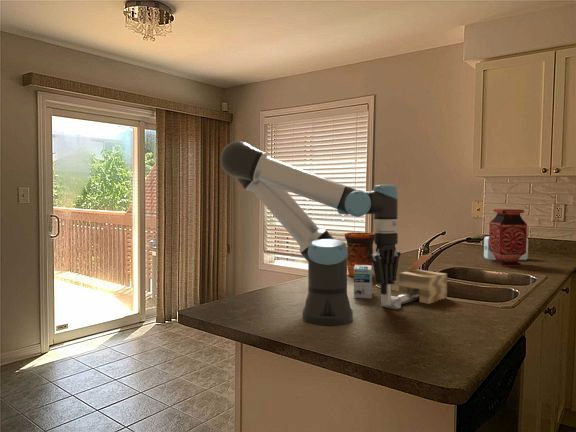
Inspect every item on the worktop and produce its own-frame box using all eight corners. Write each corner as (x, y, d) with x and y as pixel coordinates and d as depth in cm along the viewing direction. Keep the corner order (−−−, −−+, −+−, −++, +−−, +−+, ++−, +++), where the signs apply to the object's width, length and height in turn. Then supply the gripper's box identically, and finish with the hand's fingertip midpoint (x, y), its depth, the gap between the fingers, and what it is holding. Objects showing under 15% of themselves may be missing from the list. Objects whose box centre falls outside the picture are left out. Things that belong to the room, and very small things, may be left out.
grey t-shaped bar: (395, 309, 140) (395, 299, 140) (381, 305, 144) (381, 296, 144) (424, 301, 151) (424, 291, 150) (410, 298, 155) (410, 288, 155)
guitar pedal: (522, 258, 255) (522, 236, 254) (527, 259, 249) (528, 237, 249) (483, 258, 255) (483, 236, 255) (487, 259, 249) (488, 237, 249)
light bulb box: (372, 299, 154) (372, 269, 153) (353, 298, 155) (353, 268, 155) (372, 292, 164) (372, 264, 164) (354, 291, 166) (354, 264, 165)
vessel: (337, 274, 201) (338, 232, 201) (356, 272, 211) (357, 231, 210) (361, 279, 191) (362, 234, 190) (380, 276, 200) (381, 233, 200)
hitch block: (428, 303, 147) (428, 277, 146) (399, 297, 156) (399, 273, 155) (446, 298, 154) (447, 273, 154) (417, 292, 164) (418, 269, 163)
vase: (499, 267, 223) (500, 209, 222) (488, 263, 237) (489, 208, 236) (526, 267, 223) (527, 209, 222) (513, 263, 237) (514, 208, 235)
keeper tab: (407, 271, 158) (406, 269, 159) (417, 269, 162) (416, 268, 163) (422, 256, 153) (421, 255, 154) (432, 255, 157) (431, 253, 158)
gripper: (382, 234, 133) (382, 309, 134) (407, 231, 141) (407, 302, 142) (363, 232, 138) (364, 304, 139) (388, 230, 147) (389, 298, 148)
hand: (386, 303), depth 141 cm, fingers closed
